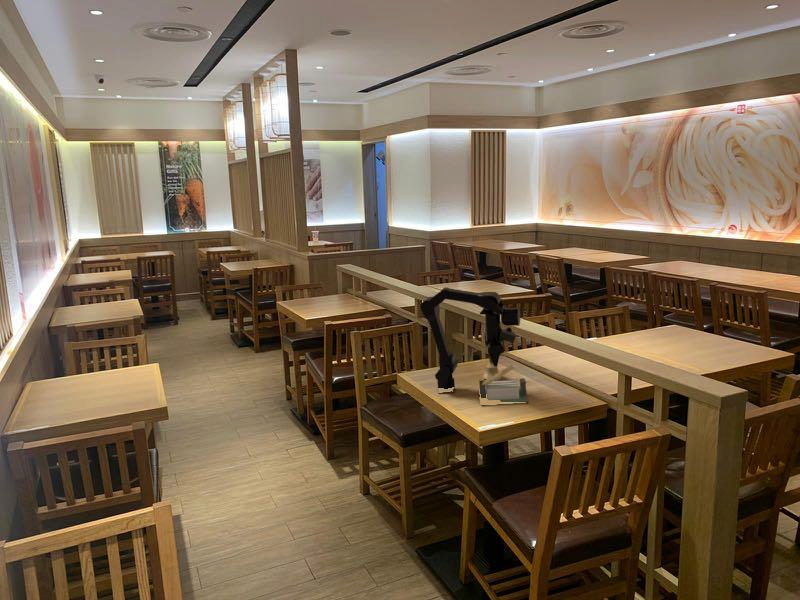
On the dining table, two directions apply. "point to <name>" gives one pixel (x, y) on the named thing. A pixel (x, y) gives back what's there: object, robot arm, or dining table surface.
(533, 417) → the dining table surface
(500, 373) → the wooden plank
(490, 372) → the hand bell
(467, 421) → the dining table surface
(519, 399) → the heatsink board
